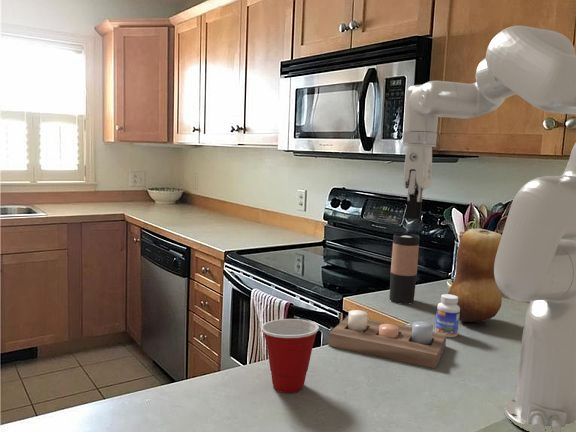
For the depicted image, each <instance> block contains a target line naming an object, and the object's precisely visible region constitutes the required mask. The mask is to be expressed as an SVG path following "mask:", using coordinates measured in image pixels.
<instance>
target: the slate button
mask: <svg viewBox="0 0 576 432" xmlns="http://www.w3.org/2000/svg"><path fill="white" fill-rule="evenodd" d="M411 327H412V338H411V341H412V342H414V343H420V344H425V345H431V343H432V331H434V325H433V324H432V323H430V322H427V321H414V322H412V326H411Z"/></svg>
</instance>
